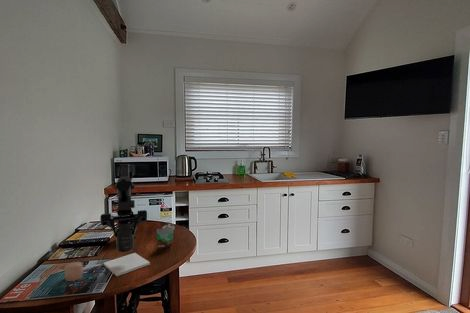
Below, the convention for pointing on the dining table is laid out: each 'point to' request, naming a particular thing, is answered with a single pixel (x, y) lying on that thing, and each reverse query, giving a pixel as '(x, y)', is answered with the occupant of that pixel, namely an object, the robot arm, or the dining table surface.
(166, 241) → the food container
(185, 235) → the dining table surface
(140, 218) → the robot arm
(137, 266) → the pad
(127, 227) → the supplement bottle
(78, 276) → the tan rounded piece
